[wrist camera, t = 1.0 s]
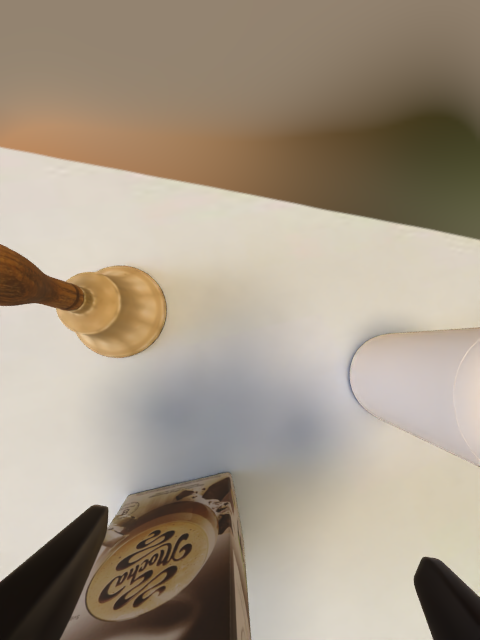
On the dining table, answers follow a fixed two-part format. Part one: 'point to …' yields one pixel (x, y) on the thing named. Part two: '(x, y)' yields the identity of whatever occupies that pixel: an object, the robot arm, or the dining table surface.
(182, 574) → the coffee box
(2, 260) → the hand bell
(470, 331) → the pill bottle
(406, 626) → the dining table surface
